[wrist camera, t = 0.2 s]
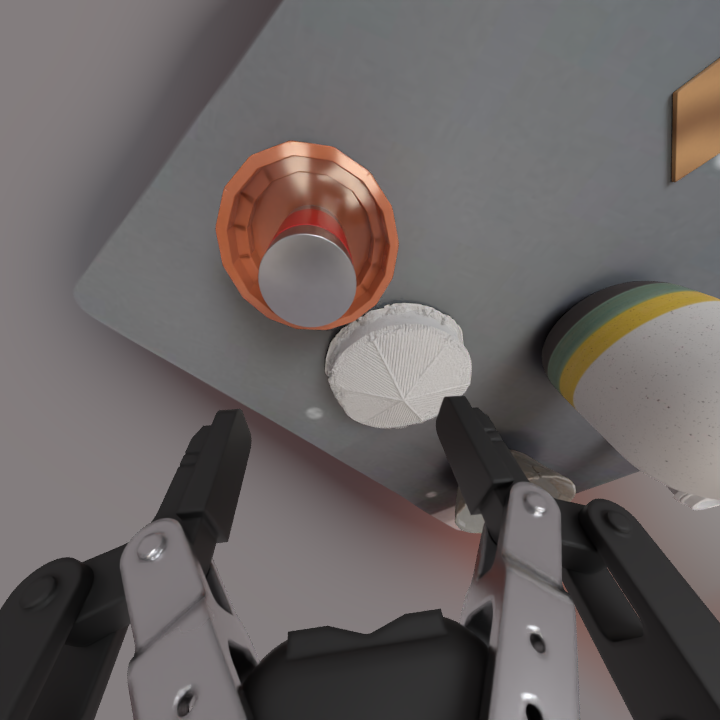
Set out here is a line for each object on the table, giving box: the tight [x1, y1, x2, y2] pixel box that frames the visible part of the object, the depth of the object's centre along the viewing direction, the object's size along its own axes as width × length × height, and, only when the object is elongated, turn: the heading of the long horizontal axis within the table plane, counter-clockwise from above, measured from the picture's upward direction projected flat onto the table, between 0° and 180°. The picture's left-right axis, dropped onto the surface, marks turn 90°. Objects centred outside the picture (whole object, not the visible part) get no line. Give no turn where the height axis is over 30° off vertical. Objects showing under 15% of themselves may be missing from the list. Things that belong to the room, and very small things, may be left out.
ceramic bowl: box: [455, 449, 576, 533], centre depth 53 cm, size 22×23×10 cm
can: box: [258, 205, 357, 327], centre depth 21 cm, size 6×6×11 cm
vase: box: [542, 281, 720, 500], centre depth 28 cm, size 17×17×24 cm
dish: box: [215, 141, 399, 330], centre depth 24 cm, size 15×15×5 cm
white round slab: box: [325, 303, 472, 429], centre depth 34 cm, size 20×20×7 cm
